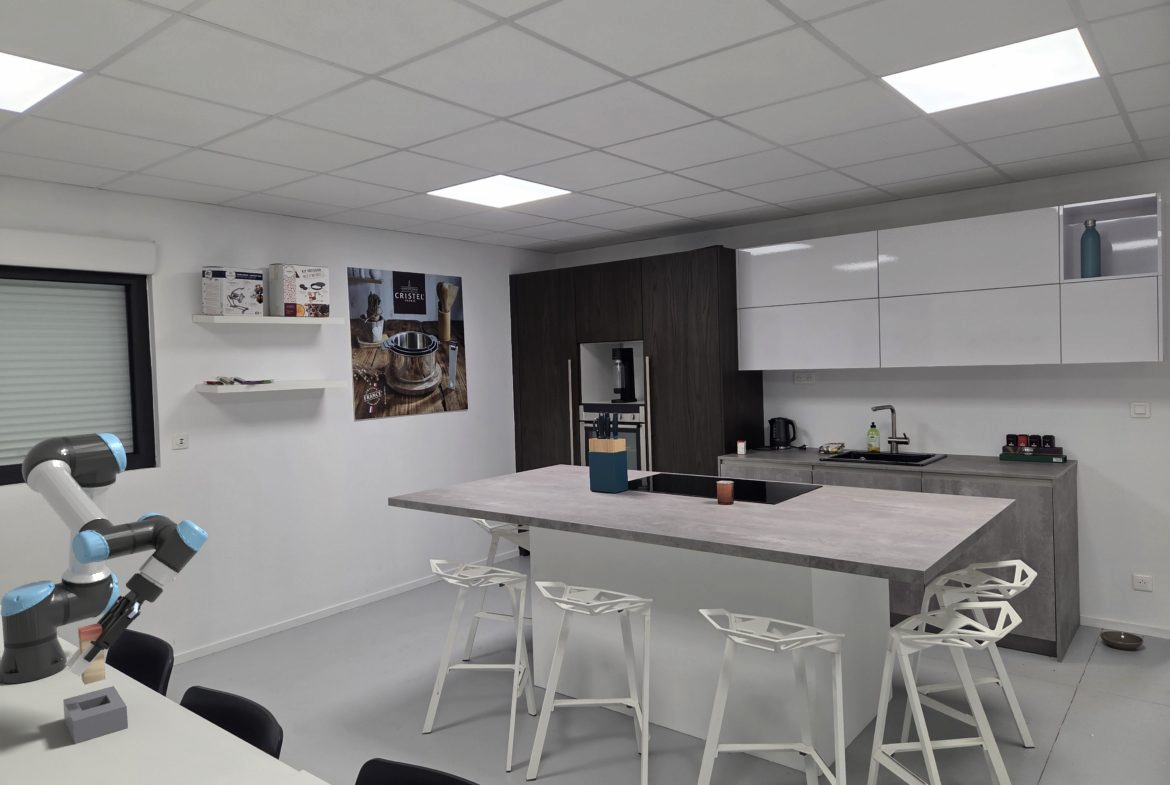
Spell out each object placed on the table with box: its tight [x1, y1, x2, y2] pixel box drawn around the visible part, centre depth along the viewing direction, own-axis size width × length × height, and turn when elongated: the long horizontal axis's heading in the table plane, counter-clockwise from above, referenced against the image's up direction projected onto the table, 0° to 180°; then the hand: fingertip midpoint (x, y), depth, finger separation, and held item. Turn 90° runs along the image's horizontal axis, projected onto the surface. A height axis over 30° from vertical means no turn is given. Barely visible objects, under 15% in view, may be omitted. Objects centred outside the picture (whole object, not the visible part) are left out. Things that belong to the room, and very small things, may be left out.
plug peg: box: [77, 622, 106, 686], centre depth 171 cm, size 4×4×12 cm
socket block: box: [63, 685, 129, 745], centre depth 172 cm, size 15×10×5 cm, turn 41°
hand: (72, 669), depth 168 cm, fingers closed on plug peg, 4 cm apart
